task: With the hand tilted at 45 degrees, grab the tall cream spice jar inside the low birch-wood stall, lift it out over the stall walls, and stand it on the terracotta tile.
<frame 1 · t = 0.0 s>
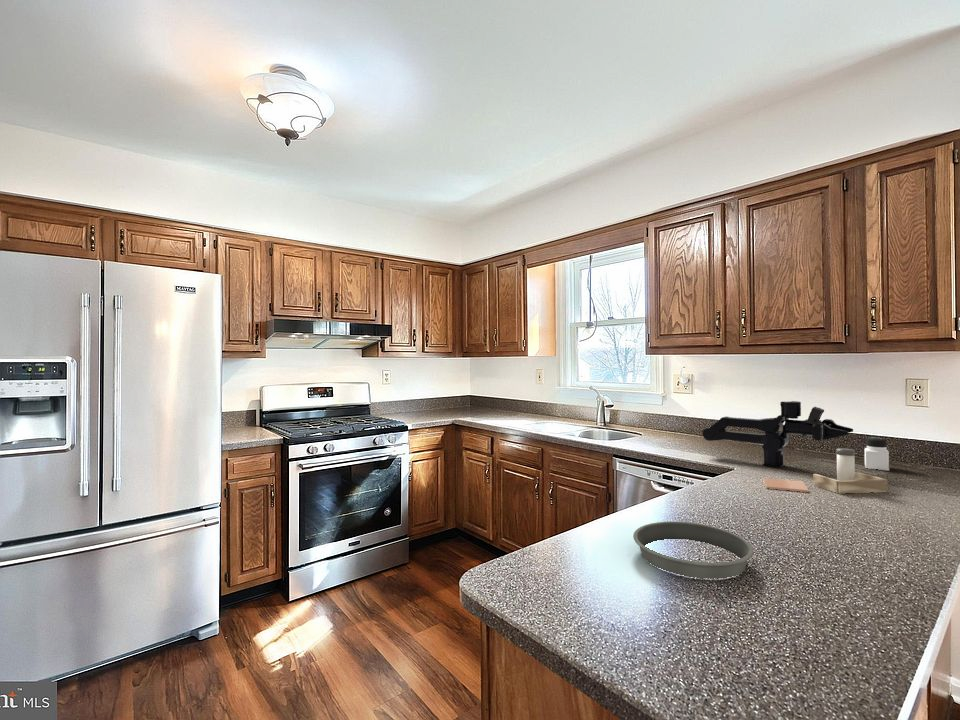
hand: (850, 431, 173), 17 cm above the worktop, tool horizontal, fingers open, 9 cm apart
cream spice jar: (845, 468, 159), in the birch stall
birch stall: (845, 487, 159), on the worktop
cake pan: (690, 560, 105), on the worktop
medicine bottle: (876, 468, 185), on the worktop
terracotta tile: (784, 486, 162), on the worktop
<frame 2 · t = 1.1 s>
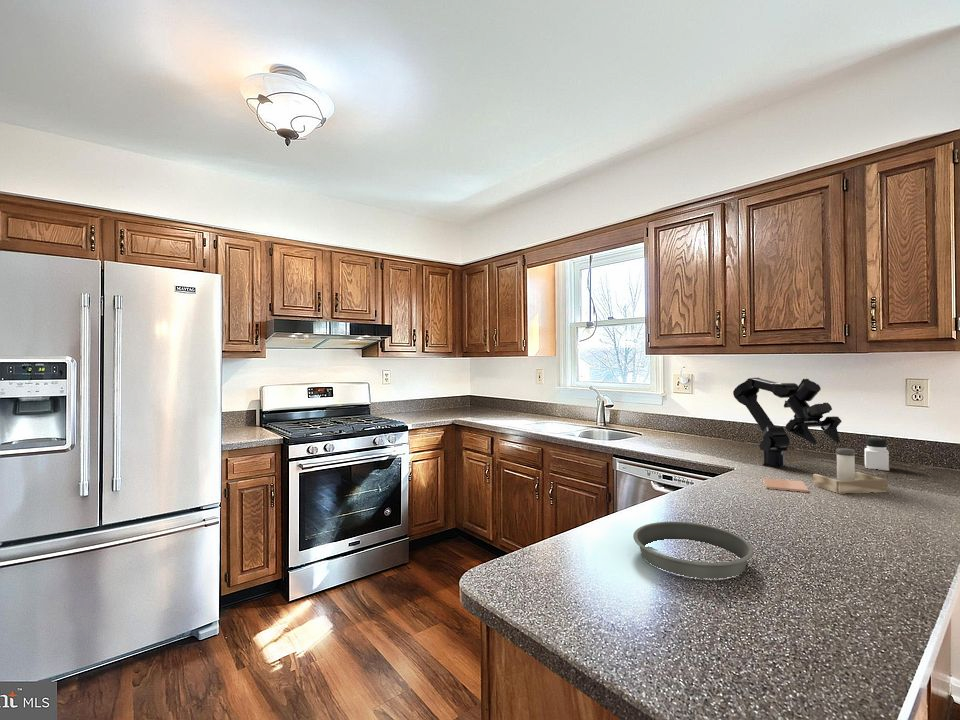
hand: (827, 443, 166), 14 cm above the worktop, tool tilted 45°, fingers open, 9 cm apart
nothing on the worktop moved.
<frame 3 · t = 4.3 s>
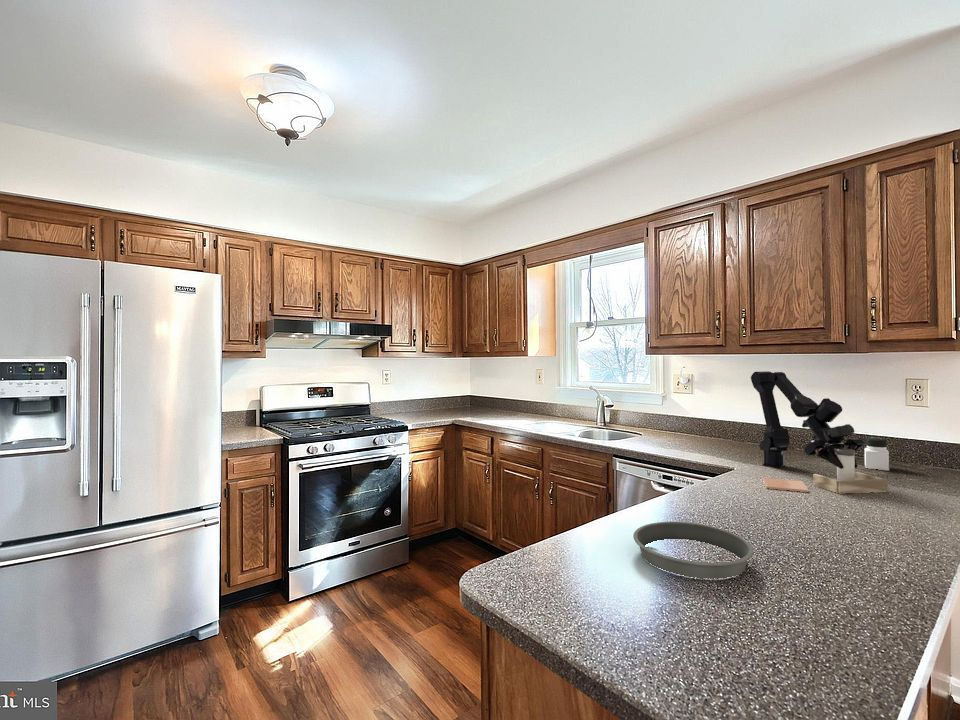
hand: (849, 467, 157), 7 cm above the worktop, tool tilted 45°, fingers closed on cream spice jar, 5 cm apart
cream spice jar: (845, 468, 159), in the birch stall, touching gripper
everything else where it was.
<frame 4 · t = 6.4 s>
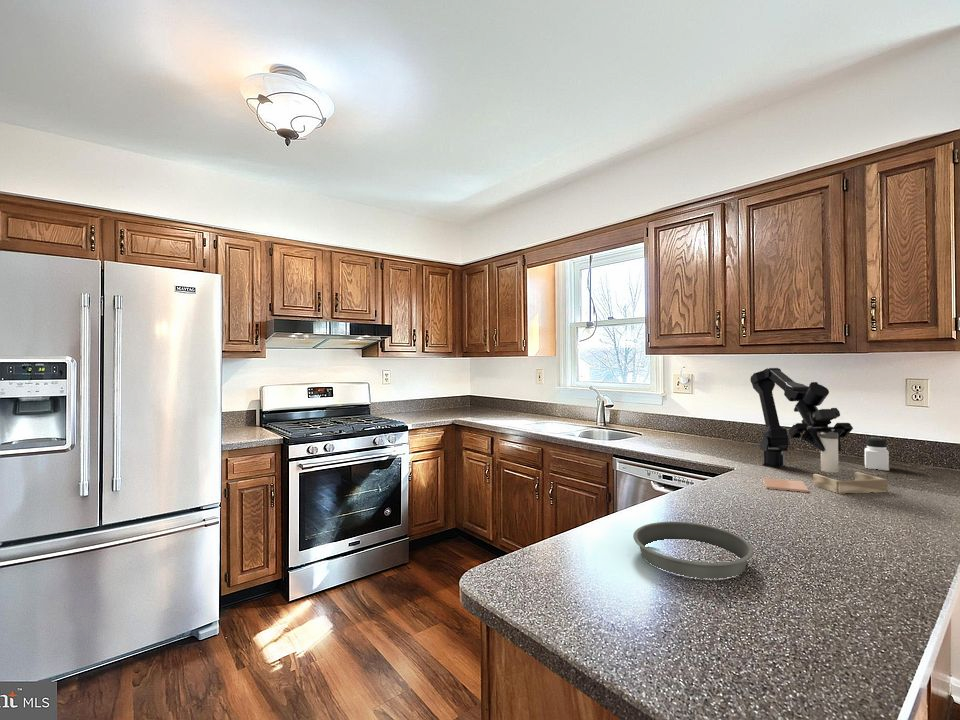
hand: (832, 450, 157), 13 cm above the worktop, tool tilted 45°, fingers closed on cream spice jar, 5 cm apart
cream spice jar: (829, 451, 158), point 12 cm above the worktop, touching gripper
everything else where it was.
when the fingers open (9 cm above the worktop, at t = 8.7 s): cream spice jar drops 2 cm, resting on terracotta tile.
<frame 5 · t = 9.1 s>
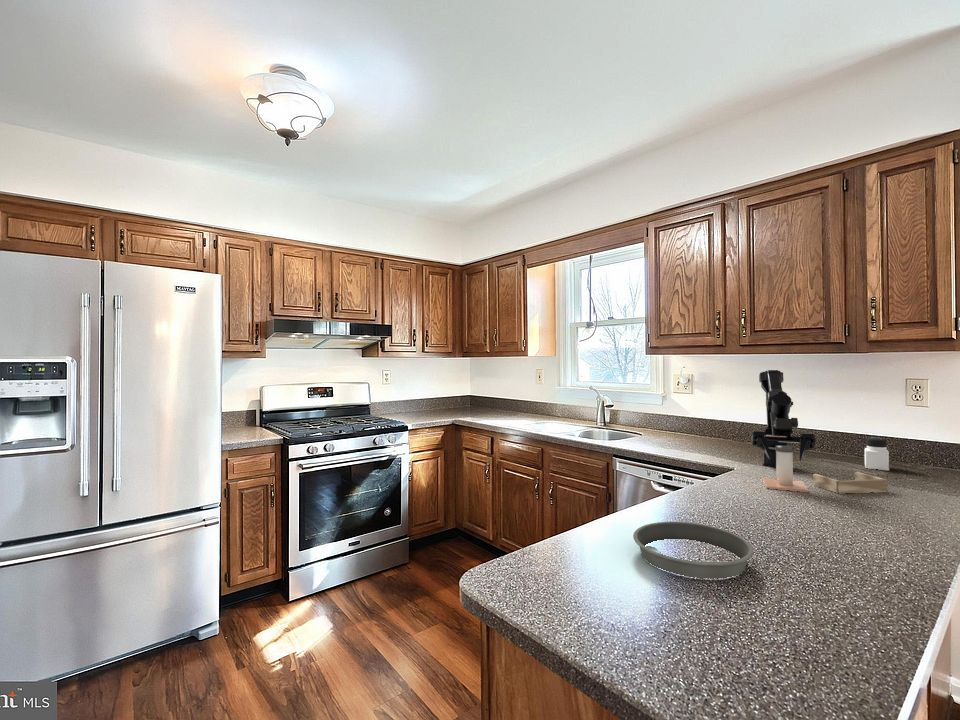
hand: (784, 459, 160), 10 cm above the worktop, tool tilted 45°, fingers open, 9 cm apart
cream spice jar: (784, 465, 162), on the terracotta tile, point 7 cm above the worktop
everything else where it was.
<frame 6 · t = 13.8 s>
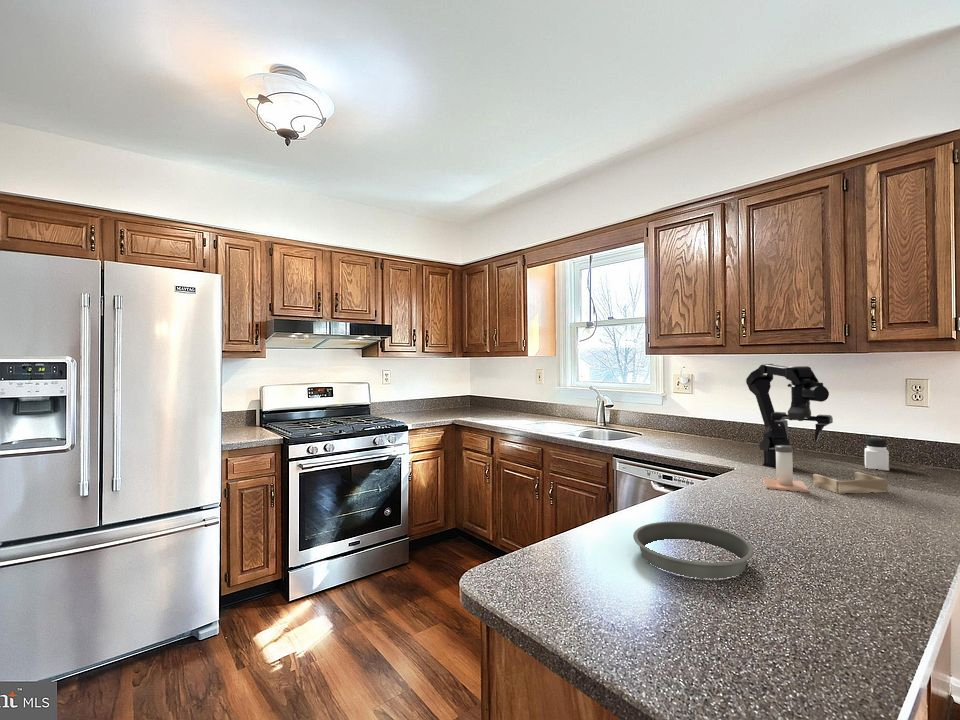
hand: (801, 440, 177), 13 cm above the worktop, tool pointing down, fingers open, 9 cm apart
nothing on the worktop moved.
at the end: cream spice jar inside the target area on the terracotta tile (0.0 cm from its centre), point 7.3 cm above the terracotta tile's base; cream spice jar tilted 1°; the gripper is holding nothing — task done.
